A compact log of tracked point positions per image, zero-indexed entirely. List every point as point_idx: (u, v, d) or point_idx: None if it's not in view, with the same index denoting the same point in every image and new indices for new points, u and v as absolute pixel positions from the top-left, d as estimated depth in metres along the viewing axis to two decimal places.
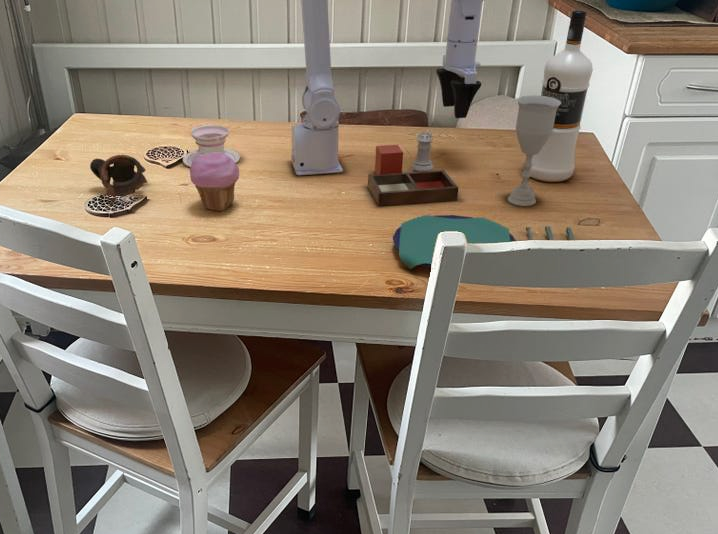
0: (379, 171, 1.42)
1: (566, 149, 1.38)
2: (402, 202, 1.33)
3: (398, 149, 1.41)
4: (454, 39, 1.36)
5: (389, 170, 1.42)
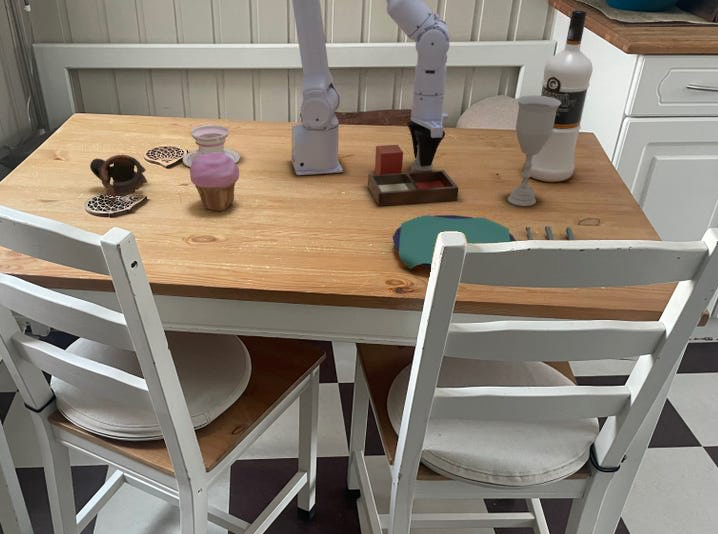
0: (379, 171, 1.42)
1: (566, 149, 1.38)
2: (402, 202, 1.33)
3: (398, 149, 1.41)
4: (416, 91, 1.35)
5: (389, 170, 1.42)
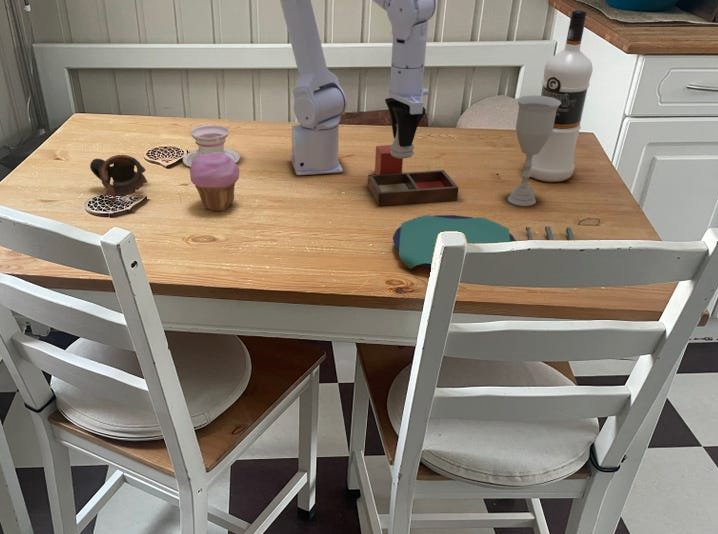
0: (379, 171, 1.42)
1: (566, 149, 1.38)
2: (402, 202, 1.33)
3: None
4: (391, 62, 1.25)
5: (389, 170, 1.42)
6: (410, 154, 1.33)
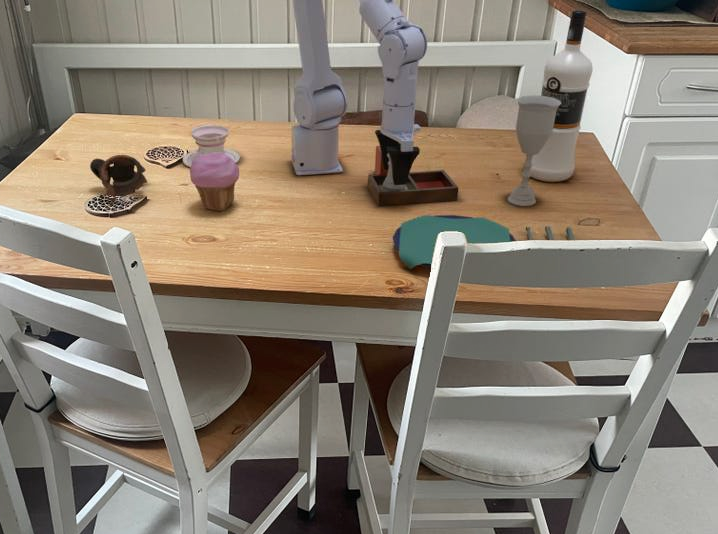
0: (379, 171, 1.42)
1: (566, 149, 1.38)
2: (402, 202, 1.33)
3: None
4: (383, 99, 1.27)
5: None
6: None
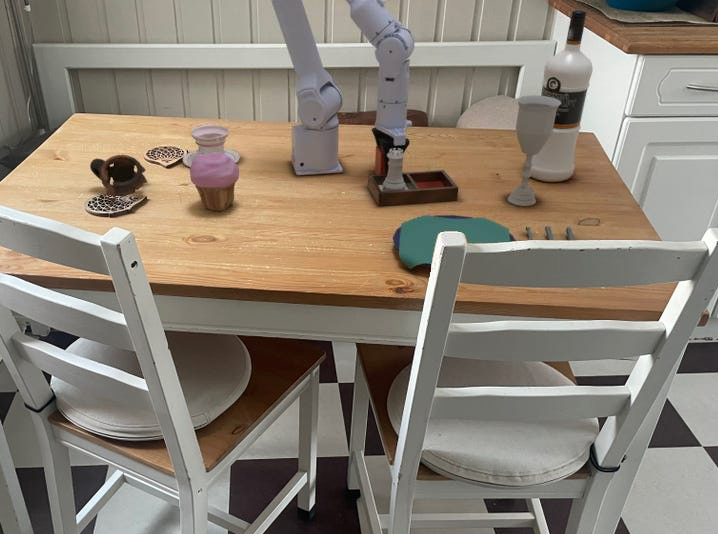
0: (379, 171, 1.43)
1: (566, 149, 1.38)
2: (402, 202, 1.33)
3: None
4: (378, 98, 1.35)
5: None
6: None
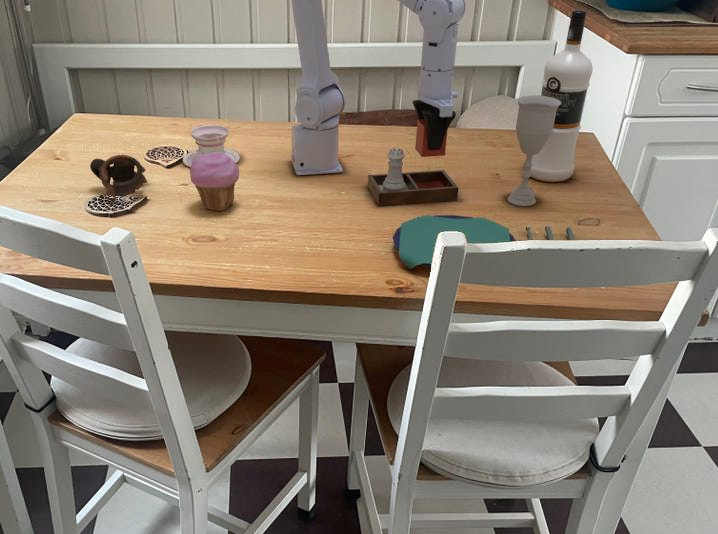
0: (421, 147, 1.32)
1: (566, 149, 1.38)
2: (402, 202, 1.33)
3: None
4: (421, 65, 1.25)
5: None
6: None
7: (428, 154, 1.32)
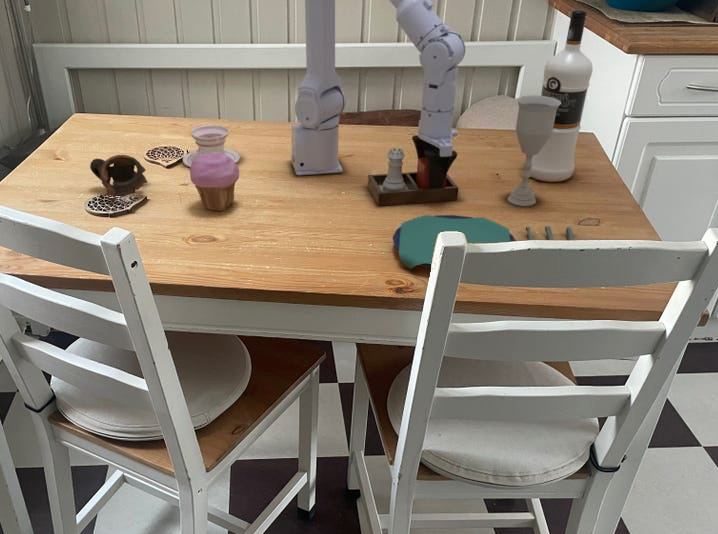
0: (422, 184, 1.35)
1: (566, 149, 1.38)
2: (402, 202, 1.33)
3: None
4: (422, 105, 1.28)
5: None
6: None
7: None
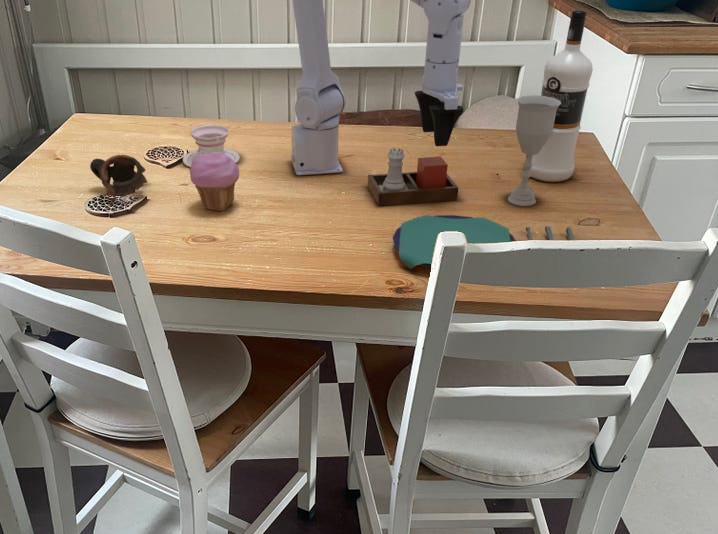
0: (422, 184, 1.35)
1: (566, 149, 1.38)
2: (402, 202, 1.33)
3: (442, 161, 1.34)
4: (426, 57, 1.23)
5: (432, 184, 1.35)
6: None
7: None
